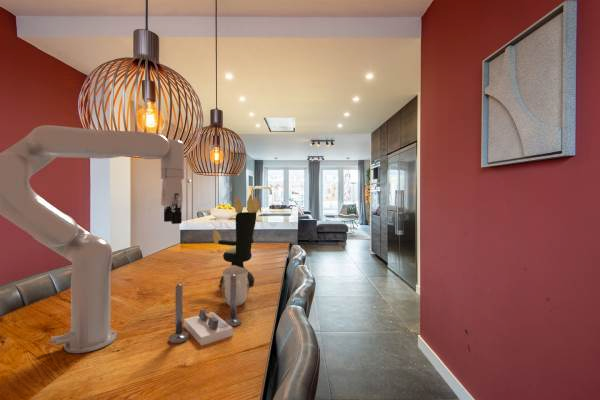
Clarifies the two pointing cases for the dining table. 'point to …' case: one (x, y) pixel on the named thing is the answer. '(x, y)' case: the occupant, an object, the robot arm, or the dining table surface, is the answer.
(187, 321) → the panel
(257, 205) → the flowering cactus
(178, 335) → the rod left
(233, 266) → the pitcher
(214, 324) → the square dumbbell
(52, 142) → the robot arm
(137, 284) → the dining table surface
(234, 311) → the rod right
